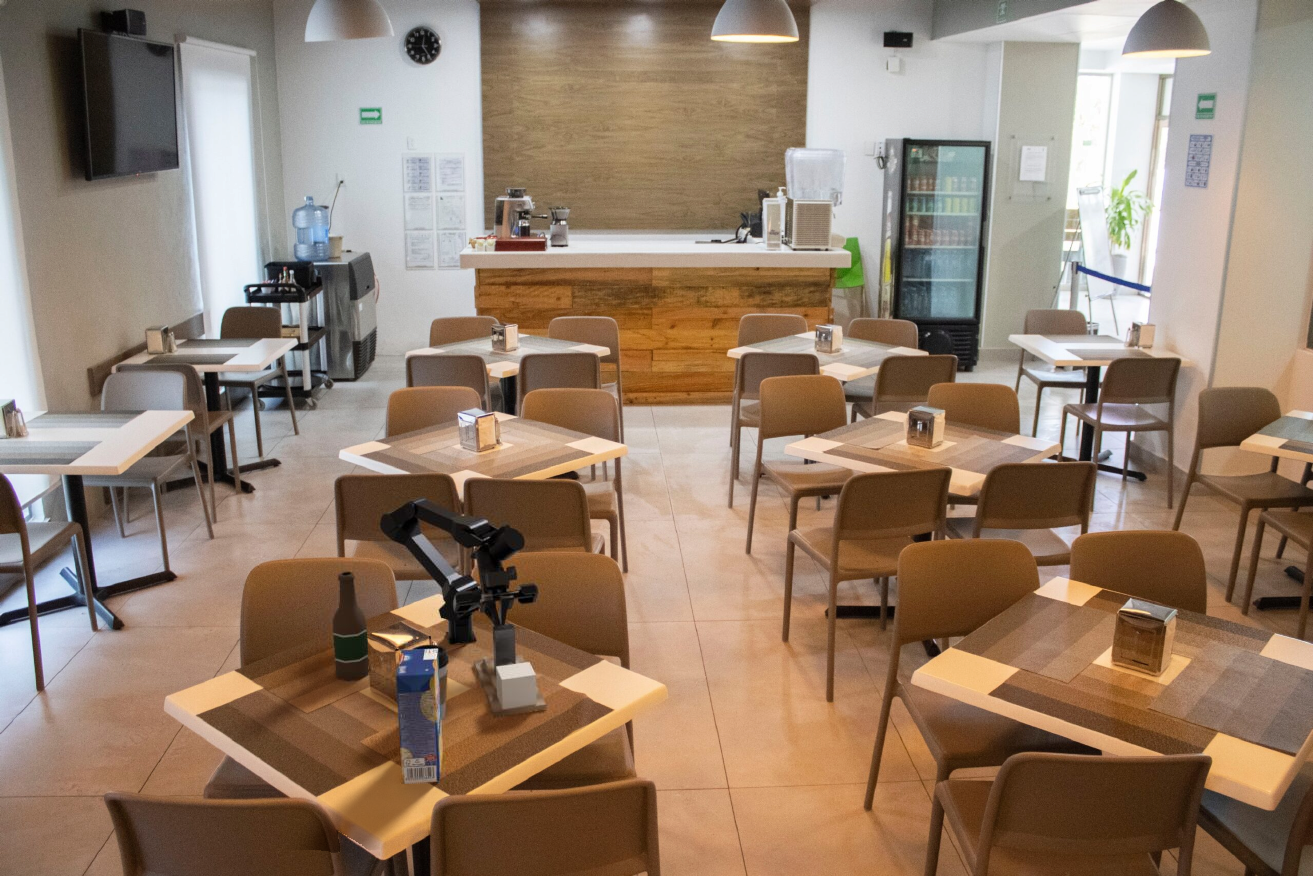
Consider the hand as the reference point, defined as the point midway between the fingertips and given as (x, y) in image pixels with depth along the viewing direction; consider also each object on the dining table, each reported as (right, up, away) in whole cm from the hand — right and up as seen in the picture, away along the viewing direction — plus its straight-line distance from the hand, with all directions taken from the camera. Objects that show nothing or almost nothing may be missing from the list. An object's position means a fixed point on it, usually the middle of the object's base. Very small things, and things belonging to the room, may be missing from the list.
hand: (501, 633), depth 248 cm
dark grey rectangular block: (+2, -10, -4) cm, 11 cm away
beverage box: (-10, -20, -36) cm, 42 cm away
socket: (+5, -12, -12) cm, 18 cm away
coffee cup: (-12, -15, -17) cm, 26 cm away
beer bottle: (-34, -10, +2) cm, 35 cm away
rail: (+2, -11, -4) cm, 12 cm away
